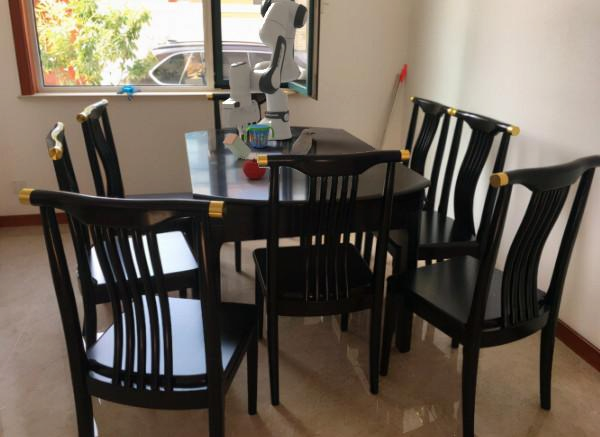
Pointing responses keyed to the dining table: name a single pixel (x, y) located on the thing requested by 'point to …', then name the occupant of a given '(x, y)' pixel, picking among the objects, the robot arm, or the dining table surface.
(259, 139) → the snack cup
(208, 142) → the dining table surface
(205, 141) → the dining table surface
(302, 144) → the bird
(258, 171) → the tomato
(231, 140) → the tall block
